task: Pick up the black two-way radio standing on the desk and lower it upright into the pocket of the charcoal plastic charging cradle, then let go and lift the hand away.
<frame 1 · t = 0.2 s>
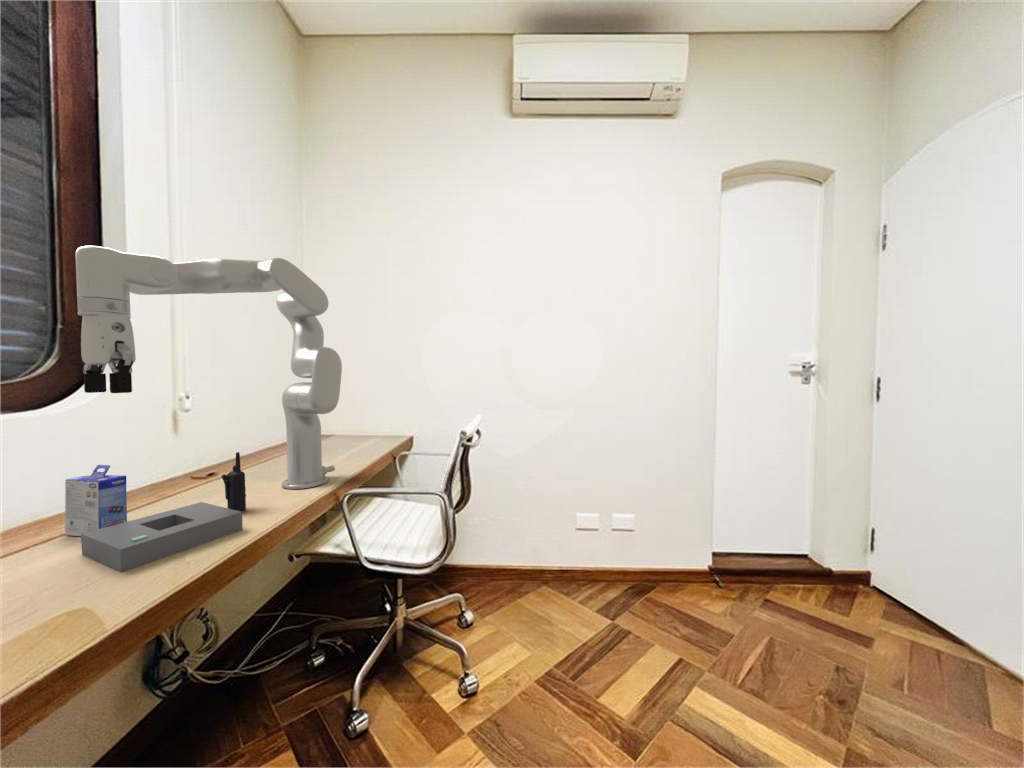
hand: (108, 392, 80), 31 cm above the table, tool pointing down, fingers open, 9 cm apart
charging cradle: (167, 541, 80), on the table
two-way radio: (234, 512, 97), on the table
ink cartridge box: (97, 533, 85), on the table
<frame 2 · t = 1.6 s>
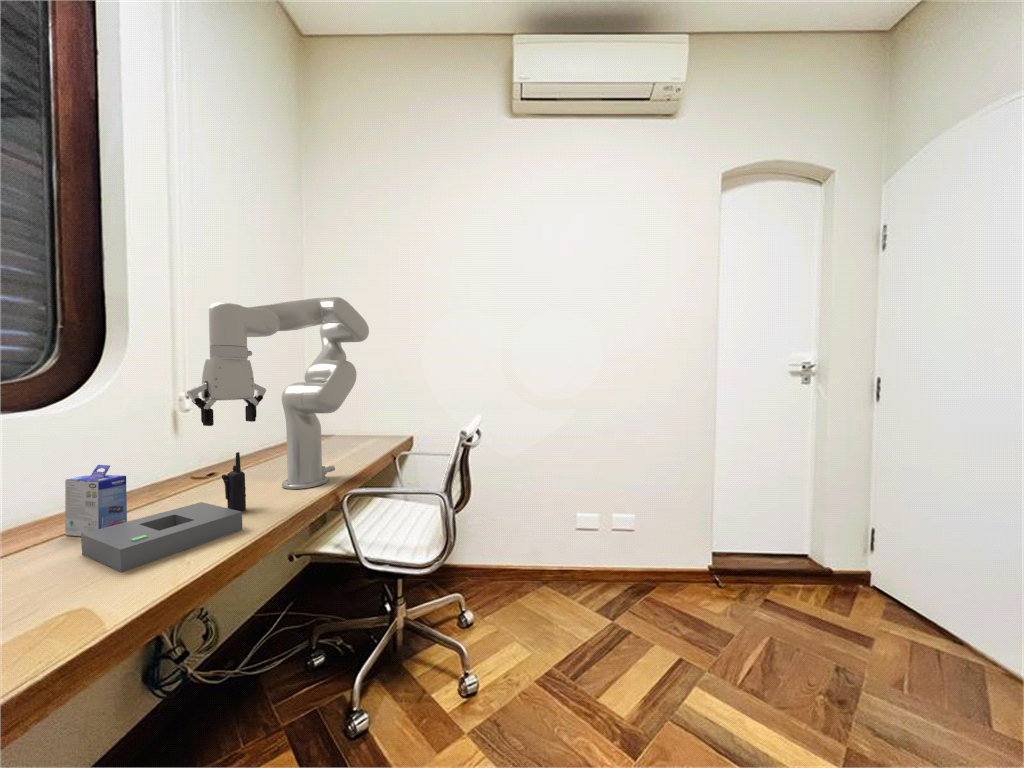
hand: (230, 423, 96), 22 cm above the table, tool pointing down, fingers open, 9 cm apart
nothing on the table moved.
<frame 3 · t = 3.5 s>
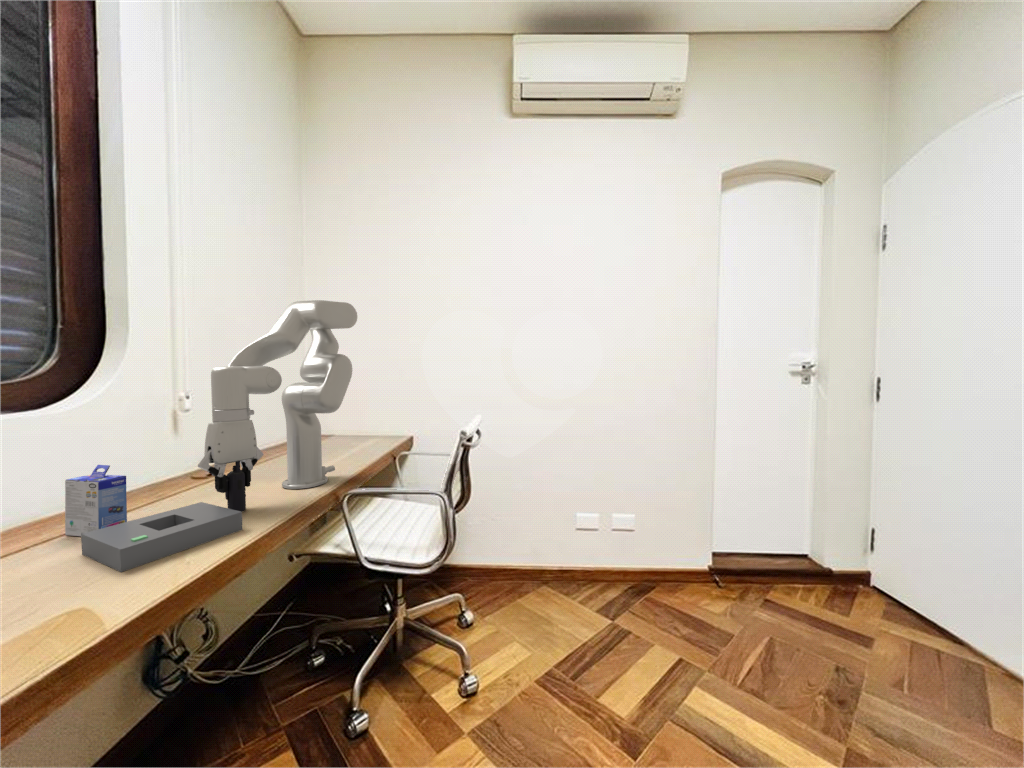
hand: (233, 488, 97), 6 cm above the table, tool pointing down, fingers closed on two-way radio, 4 cm apart
two-way radio: (234, 512, 97), on the table, touching gripper
everything else where it was.
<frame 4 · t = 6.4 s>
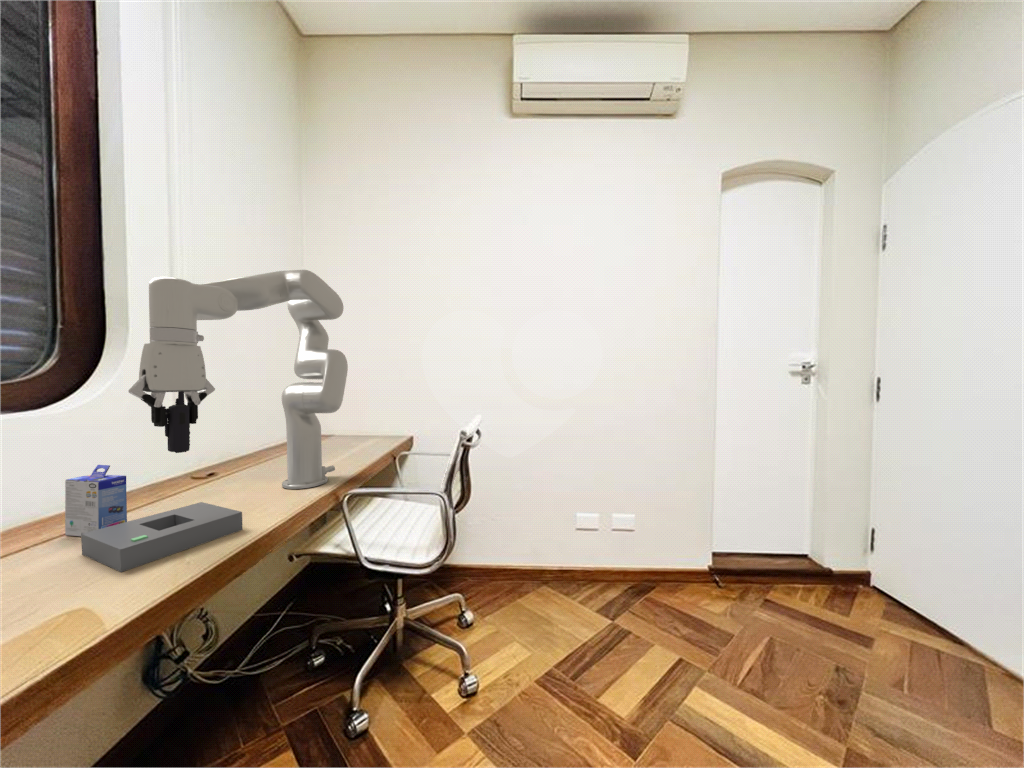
hand: (175, 423, 82), 24 cm above the table, tool pointing down, fingers closed on two-way radio, 4 cm apart
two-way radio: (175, 453, 82), point 18 cm above the table, touching gripper
everything else where it was.
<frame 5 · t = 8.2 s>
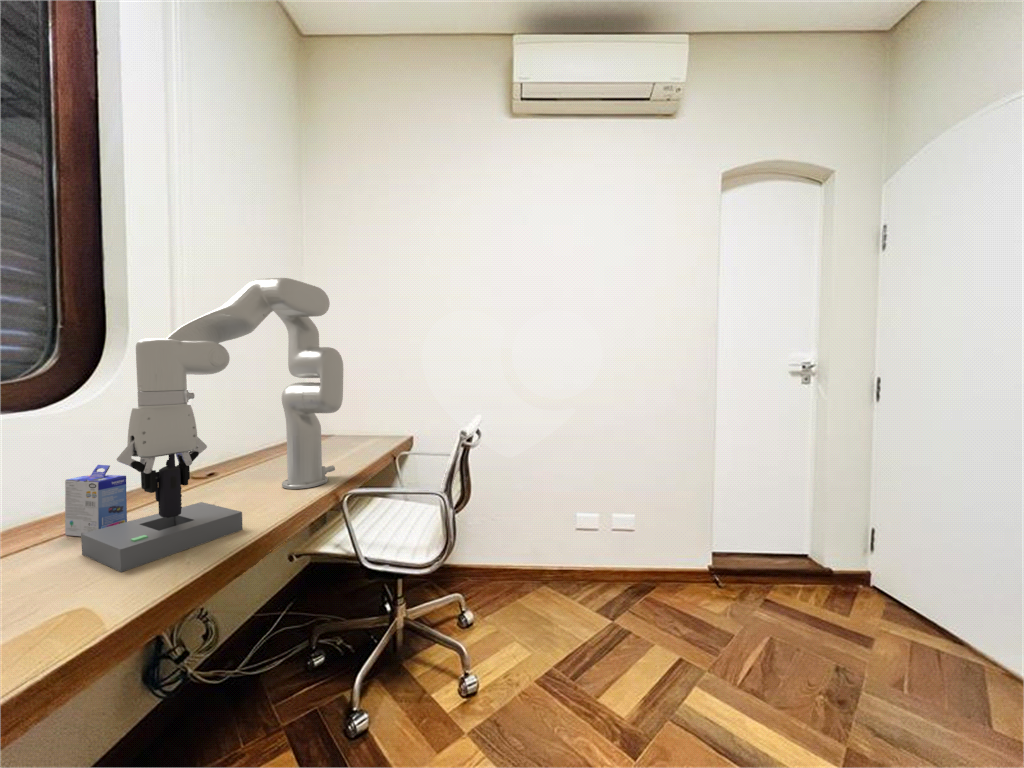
hand: (166, 487, 80), 11 cm above the table, tool pointing down, fingers closed on two-way radio, 4 cm apart
two-way radio: (166, 516, 80), point 5 cm above the table, touching gripper
everything else where it was.
when the fingers open (7 cm above the table, at t = 9.5 s): two-way radio stays where it is, resting in charging cradle.
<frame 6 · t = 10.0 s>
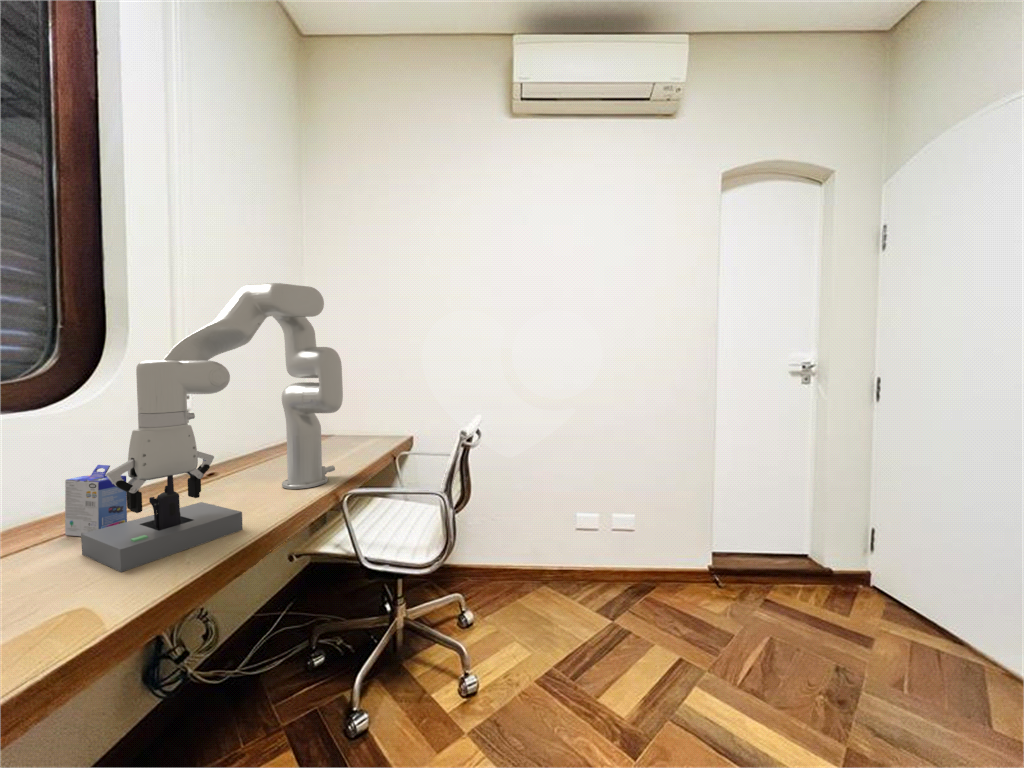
hand: (166, 503, 80), 8 cm above the table, tool pointing down, fingers open, 9 cm apart
two-way radio: (166, 542, 80), resting in charging cradle
everything else where it was.
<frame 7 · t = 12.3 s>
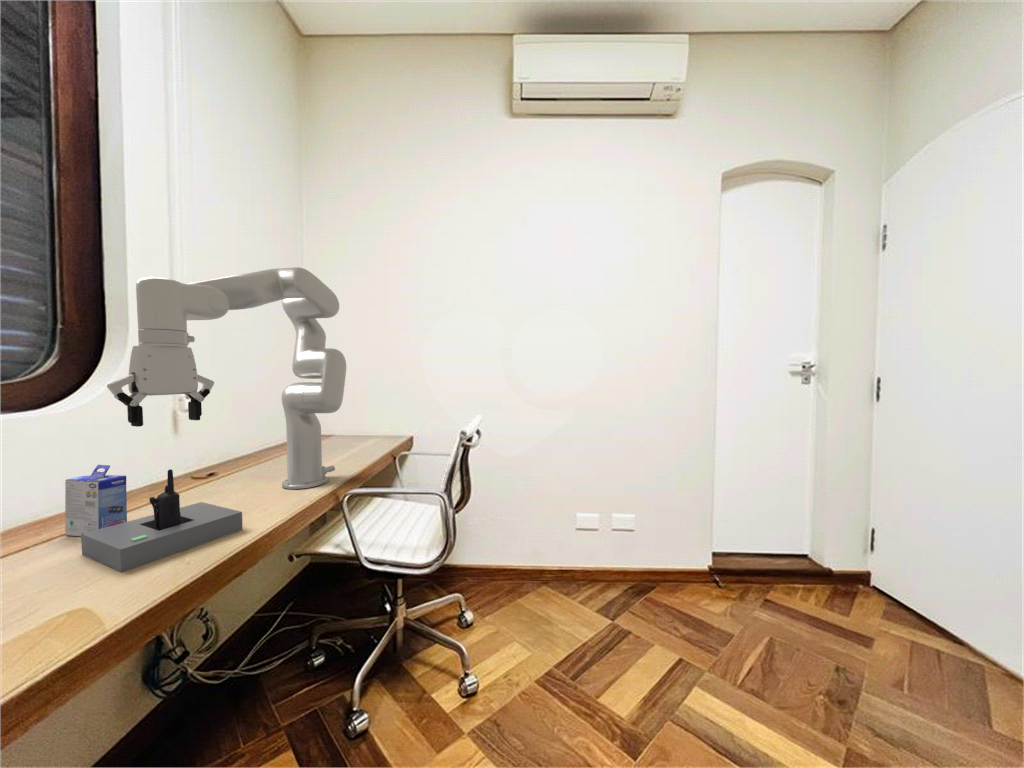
hand: (167, 422, 80), 24 cm above the table, tool pointing down, fingers open, 9 cm apart
nothing on the table moved.
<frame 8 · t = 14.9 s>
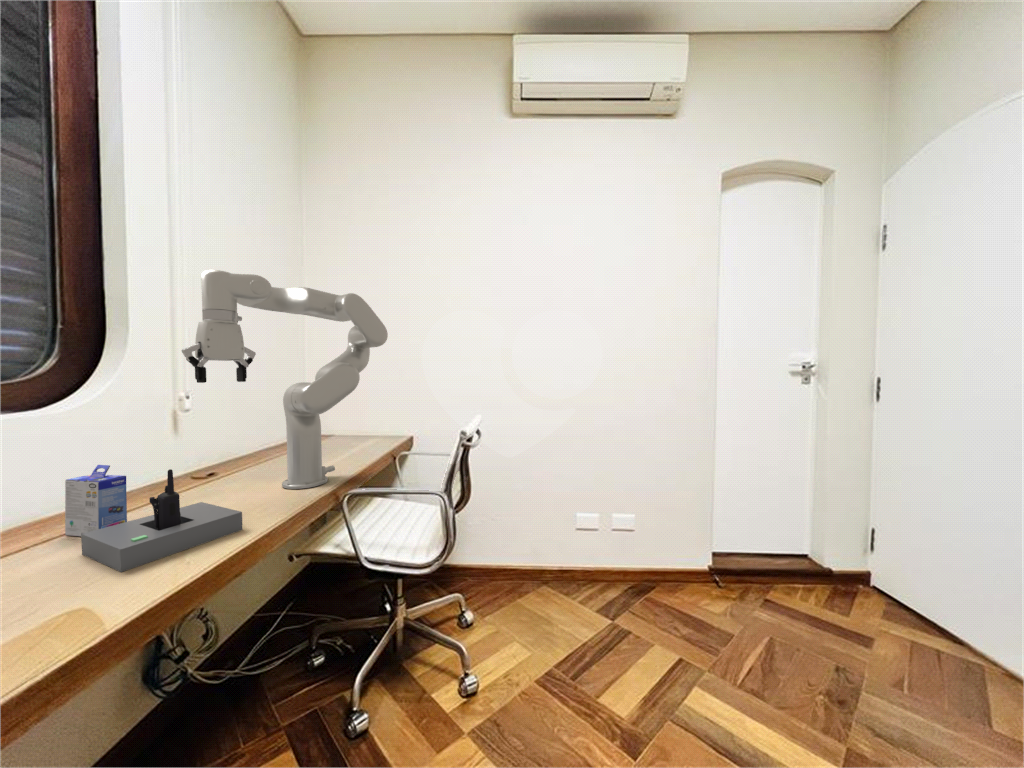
hand: (222, 382, 104), 32 cm above the table, tool pointing down, fingers open, 9 cm apart
nothing on the table moved.
at the end: two-way radio 0.3 cm off-centre on the charging cradle, point 0.0 cm above the charging cradle's base; two-way radio tilted 0°; the gripper is holding nothing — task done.
